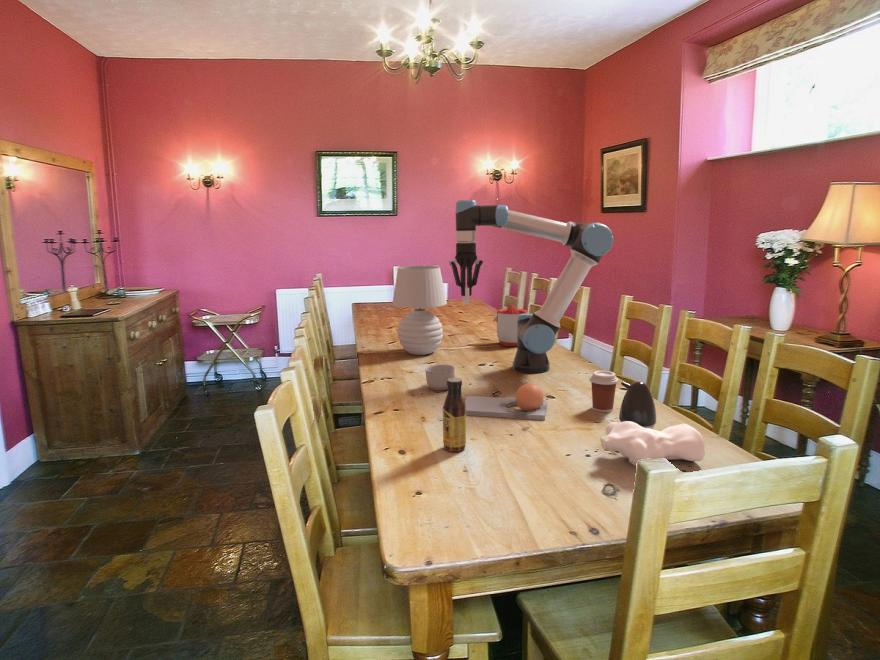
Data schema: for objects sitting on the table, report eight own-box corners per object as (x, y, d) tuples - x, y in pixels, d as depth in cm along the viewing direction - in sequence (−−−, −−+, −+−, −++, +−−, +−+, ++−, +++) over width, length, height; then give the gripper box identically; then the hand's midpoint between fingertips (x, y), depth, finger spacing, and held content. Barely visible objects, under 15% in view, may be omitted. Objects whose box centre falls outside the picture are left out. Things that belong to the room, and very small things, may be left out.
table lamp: (457, 350, 272) (456, 266, 265) (428, 361, 251) (426, 270, 244) (414, 344, 286) (412, 264, 278) (383, 354, 265) (379, 268, 257)
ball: (532, 377, 189) (518, 399, 192) (520, 378, 182) (505, 400, 184) (553, 394, 185) (538, 416, 187) (541, 395, 177) (525, 418, 180)
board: (459, 414, 183) (459, 409, 183) (468, 400, 197) (468, 395, 197) (544, 420, 177) (544, 415, 176) (547, 404, 191) (547, 400, 191)
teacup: (451, 393, 205) (451, 371, 204) (422, 392, 207) (422, 370, 206) (458, 382, 219) (458, 362, 217) (430, 381, 221) (430, 361, 219)
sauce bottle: (442, 444, 159) (441, 375, 155) (464, 443, 159) (464, 375, 155) (444, 454, 152) (443, 382, 148) (467, 453, 153) (467, 381, 149)
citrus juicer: (493, 341, 291) (493, 302, 287) (527, 341, 289) (528, 302, 285) (491, 347, 276) (491, 307, 272) (528, 348, 273) (528, 307, 270)
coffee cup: (582, 406, 189) (583, 371, 186) (604, 402, 192) (606, 368, 190) (600, 415, 180) (601, 378, 178) (623, 411, 184) (625, 375, 182)
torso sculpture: (669, 449, 157) (584, 448, 153) (675, 414, 155) (589, 413, 151) (710, 477, 140) (615, 478, 135) (717, 439, 138) (621, 438, 134)
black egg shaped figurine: (625, 423, 173) (628, 374, 170) (660, 430, 166) (663, 380, 164) (612, 433, 165) (614, 382, 162) (648, 441, 159) (651, 389, 156)
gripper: (478, 241, 219) (478, 302, 224) (446, 242, 216) (447, 304, 220) (485, 242, 212) (485, 304, 217) (452, 243, 209) (453, 306, 213)
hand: (466, 304), depth 218 cm, fingers closed
